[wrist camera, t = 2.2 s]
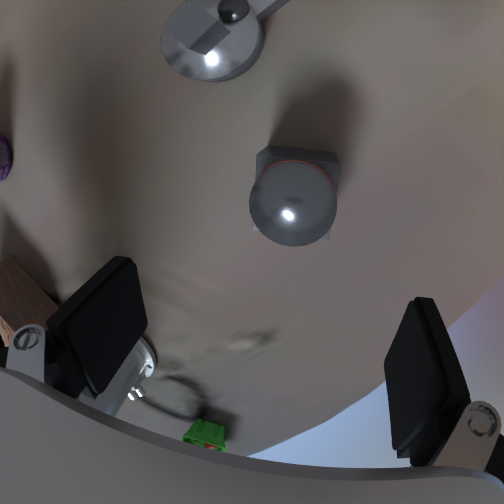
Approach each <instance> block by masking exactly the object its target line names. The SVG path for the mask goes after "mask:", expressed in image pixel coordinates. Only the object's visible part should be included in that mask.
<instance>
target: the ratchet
mask: <svg viewBox="0 0 504 504" xmlns="http://www.w3.org/2000/svg"><path fill="white" fill-rule="evenodd" d="M289 1H291V0H186V1H185V2H183V3H182V4H181V5H179V6H178V7H177V8H176V9H175V10H174V11H173V12H172V14H171V15H170V16H169V18H168V19H167V21H166V23H165V25H164V27H163V31H162V37H161V47H162V52H163V55H164V57H165V59H166V61H167V62H168V64H169V65H170V66H171V67H172V68H173V69H174V70H175V71H176V72H178V73H180V74H181V75H183V76H186V77H189V78H193V79H198V80H203V81H209V82H222V81H227V80H230V79H234V78H236V77H238V76H240V75H242V74H243V73H245V72H246V71H247V70H249V69H250V68H251V67H252V66H253V65H254V63H255V62H256V61H257V59H258V58H259V56H260V54H261V52H262V49H263V45H264V31H263V27H262V25H261V22H263V21H264V20H265V19H266V18H268V17H269V16H270V15H272V14H273V13H274V12H276V11H277V10H278V9H280V8H281V7H282V6H284V5H285V4H286V3H288V2H289Z"/></svg>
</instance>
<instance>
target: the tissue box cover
mask: <svg viewBox="0 0 504 504" xmlns="http://www.w3.org/2000/svg"><path fill="white" fill-rule="evenodd" d="M58 309H59V307H58V306H57V305H56V304H55V303H54V301H53V300H52V299H51V298H50V297H49V296H48V295H47V294H46V293H45V292H44V291H43V290H42V289H41V288H40V287H39V286H38V284H37V283H36V282H35V281H34V280H33V279H32V278H31V277H30V276H29V274H28V273H27V272H26V271H25V270H24V269H23V267H22V266H21V265H20V264H19V263H18V261H17V260H16V259H15V258H14V257H13V255H11V256H10V257H9V258H7V259H6V260H5V261H3V262H2V263H0V348H4V347H8V346H9V343H10V340H11V337H12V336H13V334H14V333H15V332H16V331H17V330H18V329H20V328H21V327H23V326H26V325H29V324H37V325H40V326H41V327H43V329H44V330H45V331H46V330H47V329H48V327H47V325H46V323H45V322H46V321H47V320H48V319H49V318H50V317H51V316H52V315H53V314H54V313H55V312H56V311H57V310H58Z"/></svg>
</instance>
